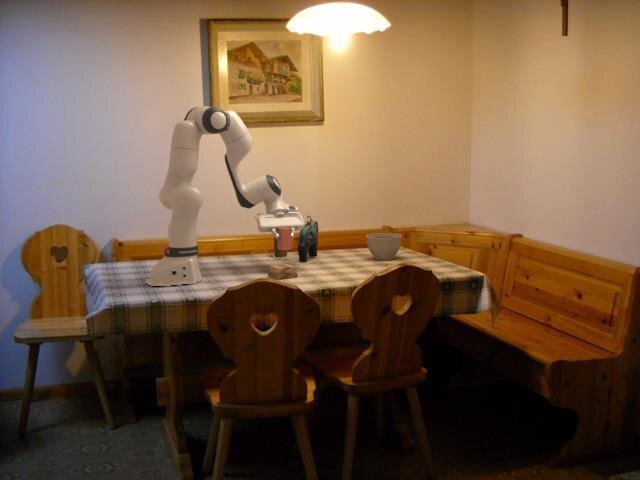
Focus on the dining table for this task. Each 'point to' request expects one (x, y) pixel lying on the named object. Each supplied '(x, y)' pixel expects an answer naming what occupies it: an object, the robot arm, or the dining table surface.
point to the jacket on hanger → (308, 240)
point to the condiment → (278, 252)
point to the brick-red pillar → (285, 238)
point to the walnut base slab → (282, 275)
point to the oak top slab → (282, 269)
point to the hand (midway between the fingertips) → (285, 237)
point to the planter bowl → (383, 245)
